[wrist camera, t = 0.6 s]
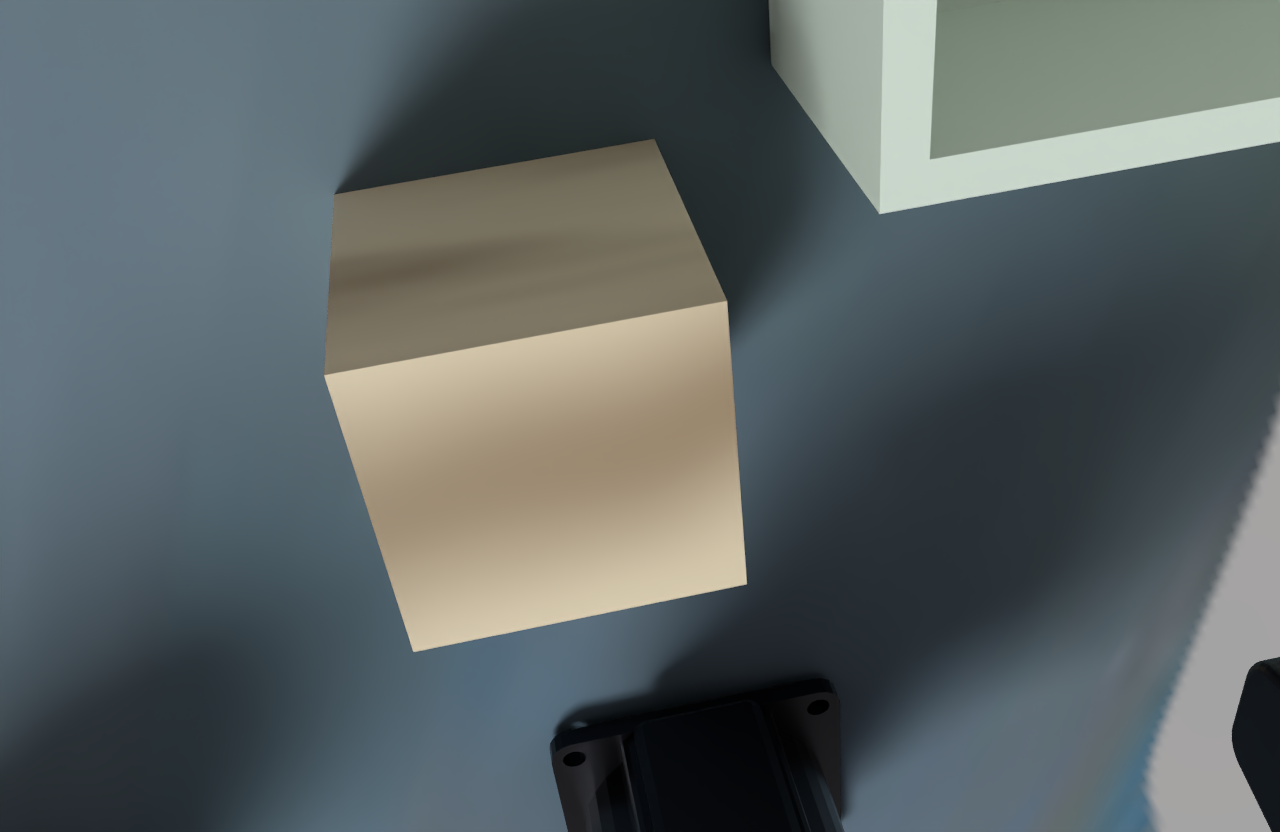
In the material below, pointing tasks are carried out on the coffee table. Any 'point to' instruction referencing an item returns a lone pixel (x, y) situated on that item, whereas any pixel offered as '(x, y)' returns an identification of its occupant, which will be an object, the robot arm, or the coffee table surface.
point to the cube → (535, 392)
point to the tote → (1025, 87)
